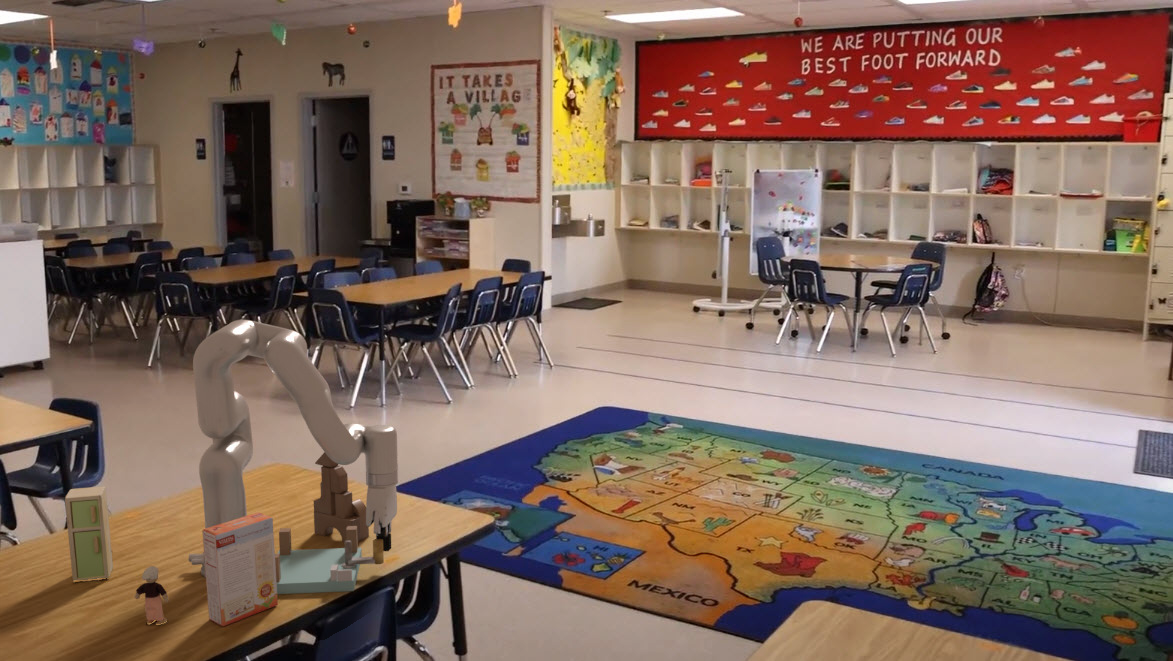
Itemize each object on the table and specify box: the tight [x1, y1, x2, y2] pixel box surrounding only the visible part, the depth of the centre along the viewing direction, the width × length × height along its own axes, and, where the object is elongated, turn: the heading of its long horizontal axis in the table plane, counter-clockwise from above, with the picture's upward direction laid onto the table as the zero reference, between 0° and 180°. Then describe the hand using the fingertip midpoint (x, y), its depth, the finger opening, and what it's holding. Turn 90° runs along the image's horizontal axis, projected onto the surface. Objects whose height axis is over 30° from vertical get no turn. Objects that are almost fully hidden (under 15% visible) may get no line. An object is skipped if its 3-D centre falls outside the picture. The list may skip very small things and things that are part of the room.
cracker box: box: [202, 511, 279, 627], centre depth 231 cm, size 14×6×21 cm, turn 140°
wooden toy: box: [313, 451, 370, 543], centre depth 276 cm, size 16×7×25 cm, turn 58°
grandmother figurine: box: [134, 565, 170, 624], centre depth 226 cm, size 8×4×13 cm, turn 92°
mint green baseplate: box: [275, 526, 363, 595], centre depth 252 cm, size 20×20×8 cm
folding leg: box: [343, 538, 384, 565], centre depth 252 cm, size 9×2×6 cm, turn 97°
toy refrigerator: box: [64, 486, 114, 582], centre depth 248 cm, size 8×7×21 cm
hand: (383, 549), depth 256 cm, fingers closed
